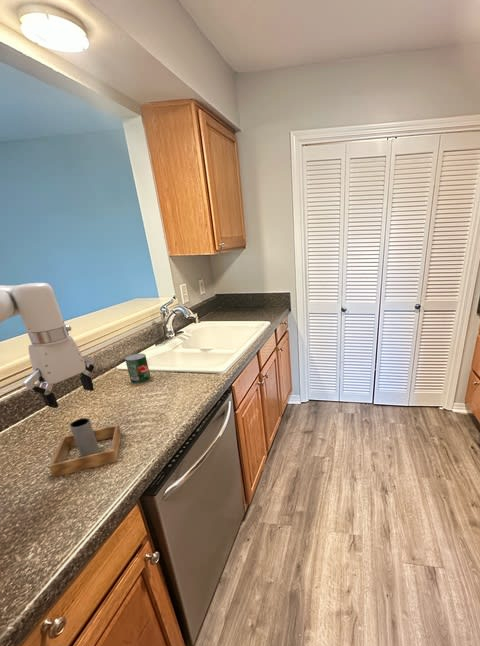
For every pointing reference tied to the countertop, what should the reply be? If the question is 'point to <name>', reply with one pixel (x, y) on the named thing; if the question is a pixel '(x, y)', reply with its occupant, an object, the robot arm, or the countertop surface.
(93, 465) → the wooden square frame
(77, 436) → the planter
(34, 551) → the countertop surface
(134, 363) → the canned tomato
